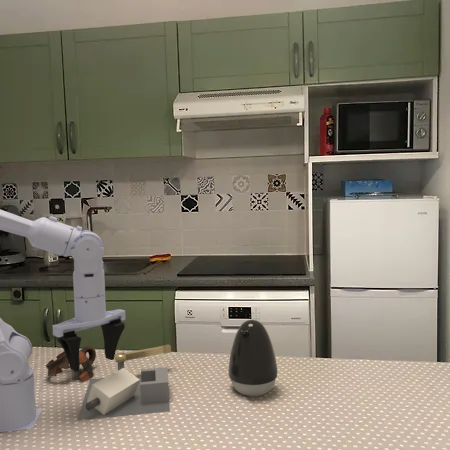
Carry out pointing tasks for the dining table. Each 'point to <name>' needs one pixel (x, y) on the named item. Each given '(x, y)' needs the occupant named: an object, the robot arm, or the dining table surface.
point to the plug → (112, 391)
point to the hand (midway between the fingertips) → (92, 364)
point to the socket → (136, 396)
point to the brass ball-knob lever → (142, 353)
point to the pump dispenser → (252, 360)
